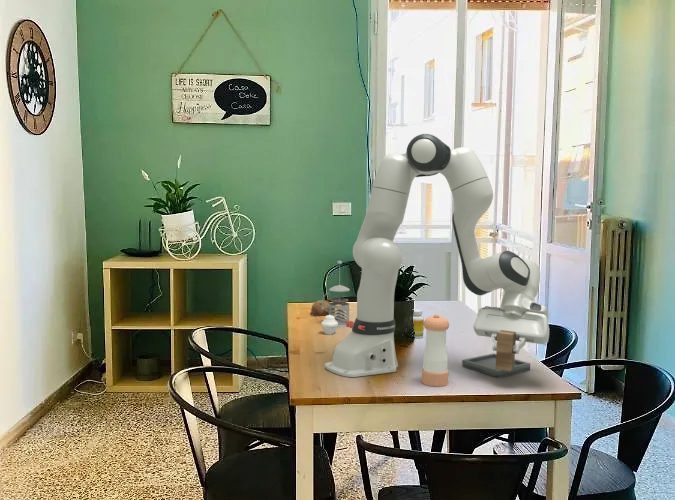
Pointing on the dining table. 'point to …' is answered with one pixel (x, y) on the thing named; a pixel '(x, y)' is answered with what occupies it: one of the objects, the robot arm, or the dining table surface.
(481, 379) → the dining table surface
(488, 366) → the tray
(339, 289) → the french press
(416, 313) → the supplement bottle
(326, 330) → the muffin
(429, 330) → the pepper shaker
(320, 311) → the bread roll
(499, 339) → the walnut block
